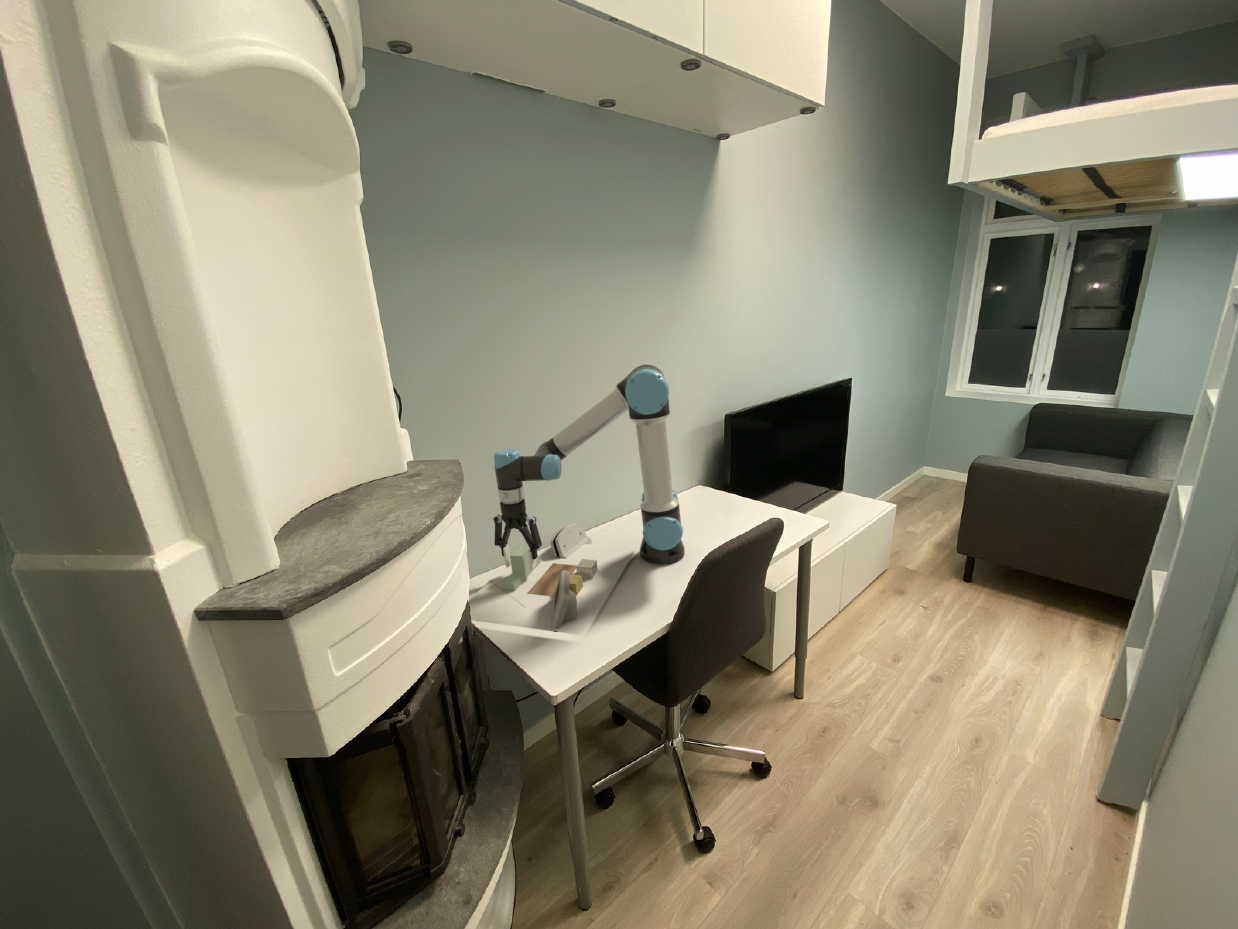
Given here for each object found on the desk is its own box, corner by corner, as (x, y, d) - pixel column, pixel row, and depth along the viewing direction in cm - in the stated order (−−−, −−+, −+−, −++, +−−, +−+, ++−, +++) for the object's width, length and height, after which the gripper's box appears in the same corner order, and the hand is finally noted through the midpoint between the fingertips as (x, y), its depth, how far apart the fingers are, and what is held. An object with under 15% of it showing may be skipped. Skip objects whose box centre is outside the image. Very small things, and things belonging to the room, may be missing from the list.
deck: (578, 569, 170) (578, 565, 170) (555, 601, 153) (554, 596, 152) (553, 567, 173) (553, 563, 172) (527, 597, 156) (527, 593, 155)
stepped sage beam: (540, 567, 174) (537, 540, 171) (515, 596, 158) (511, 566, 155) (530, 566, 175) (526, 539, 172) (503, 594, 159) (499, 565, 156)
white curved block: (567, 563, 175) (556, 536, 174) (557, 565, 178) (546, 538, 176) (592, 542, 189) (582, 517, 188) (582, 544, 192) (572, 519, 190)
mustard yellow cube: (583, 590, 157) (582, 575, 156) (577, 599, 153) (575, 584, 151) (568, 588, 159) (566, 574, 157) (561, 597, 154) (560, 582, 153)
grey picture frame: (554, 600, 153) (551, 568, 150) (584, 600, 152) (581, 568, 149) (540, 634, 138) (536, 599, 135) (573, 634, 137) (570, 599, 134)
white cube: (598, 574, 166) (596, 560, 164) (592, 582, 161) (591, 568, 160) (583, 572, 167) (582, 559, 166) (577, 580, 163) (576, 566, 161)
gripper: (475, 502, 158) (486, 569, 165) (537, 506, 152) (546, 575, 158) (488, 493, 165) (498, 558, 171) (548, 497, 158) (556, 563, 165)
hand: (521, 566), depth 165 cm, fingers open, 8 cm apart
